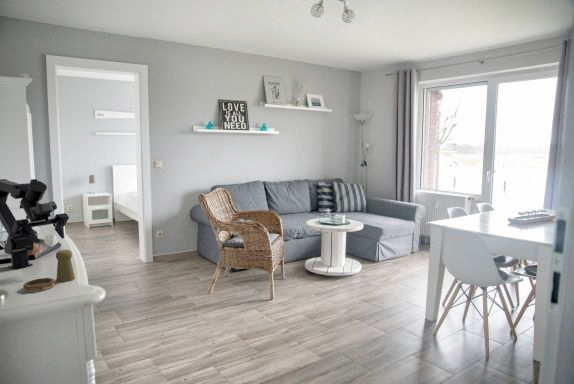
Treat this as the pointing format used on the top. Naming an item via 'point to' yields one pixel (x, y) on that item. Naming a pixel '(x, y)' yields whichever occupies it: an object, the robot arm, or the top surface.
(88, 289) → the top surface
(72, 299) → the top surface
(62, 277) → the cork
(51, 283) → the walnut stand
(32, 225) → the robot arm
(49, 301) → the top surface
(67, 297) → the top surface
